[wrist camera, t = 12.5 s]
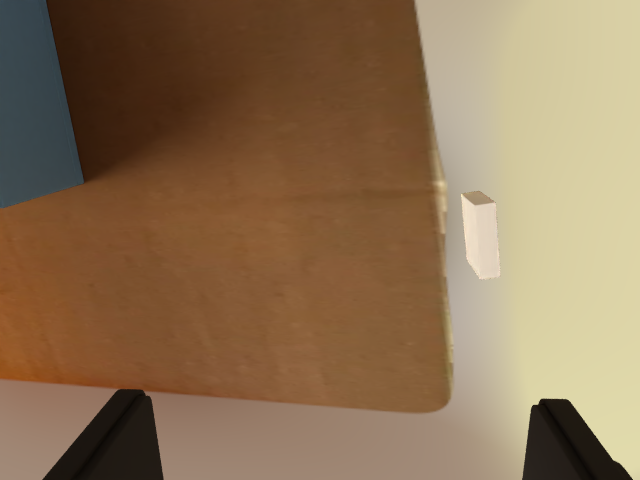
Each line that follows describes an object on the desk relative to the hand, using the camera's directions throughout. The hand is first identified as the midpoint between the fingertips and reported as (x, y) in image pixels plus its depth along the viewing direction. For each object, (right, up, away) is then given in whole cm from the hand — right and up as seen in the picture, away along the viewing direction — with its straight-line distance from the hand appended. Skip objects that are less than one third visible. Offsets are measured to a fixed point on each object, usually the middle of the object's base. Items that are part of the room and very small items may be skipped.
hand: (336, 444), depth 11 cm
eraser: (+10, +6, +20) cm, 23 cm away
